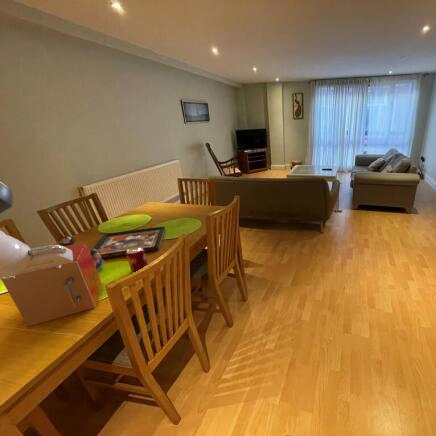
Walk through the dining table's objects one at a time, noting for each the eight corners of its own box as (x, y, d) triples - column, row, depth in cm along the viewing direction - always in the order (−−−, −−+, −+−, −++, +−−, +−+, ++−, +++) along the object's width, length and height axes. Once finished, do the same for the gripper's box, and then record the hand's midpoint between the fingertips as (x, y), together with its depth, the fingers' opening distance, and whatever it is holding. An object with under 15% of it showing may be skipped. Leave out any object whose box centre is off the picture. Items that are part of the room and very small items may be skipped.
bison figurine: (96, 277, 114) (89, 259, 110) (79, 279, 112) (71, 261, 108) (108, 263, 124) (102, 246, 120) (92, 265, 123) (85, 248, 119)
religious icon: (165, 226, 167) (164, 223, 166) (165, 249, 138) (164, 245, 137) (98, 238, 151) (97, 234, 150) (83, 266, 122) (81, 261, 121)
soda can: (134, 277, 113) (128, 255, 109) (130, 271, 118) (123, 250, 113) (151, 270, 118) (145, 249, 114) (146, 265, 123) (140, 244, 118)
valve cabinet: (95, 306, 96) (77, 260, 88) (29, 324, 87) (1, 275, 79) (102, 283, 109) (86, 242, 101) (44, 298, 100) (22, 253, 92)
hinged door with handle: (92, 316, 91) (72, 269, 83) (21, 337, 82) (-9, 287, 74) (95, 306, 96) (77, 260, 88) (28, 325, 87) (1, 276, 79)
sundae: (64, 258, 129) (53, 233, 123) (79, 253, 134) (70, 229, 128) (68, 262, 125) (57, 237, 120) (83, 257, 131) (74, 232, 125)
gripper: (59, 234, 62) (81, 251, 73) (-62, 255, 52) (-16, 270, 64) (61, 257, 60) (83, 270, 71) (-65, 283, 51) (-17, 293, 62)
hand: (35, 271), depth 68 cm, fingers open, 8 cm apart
